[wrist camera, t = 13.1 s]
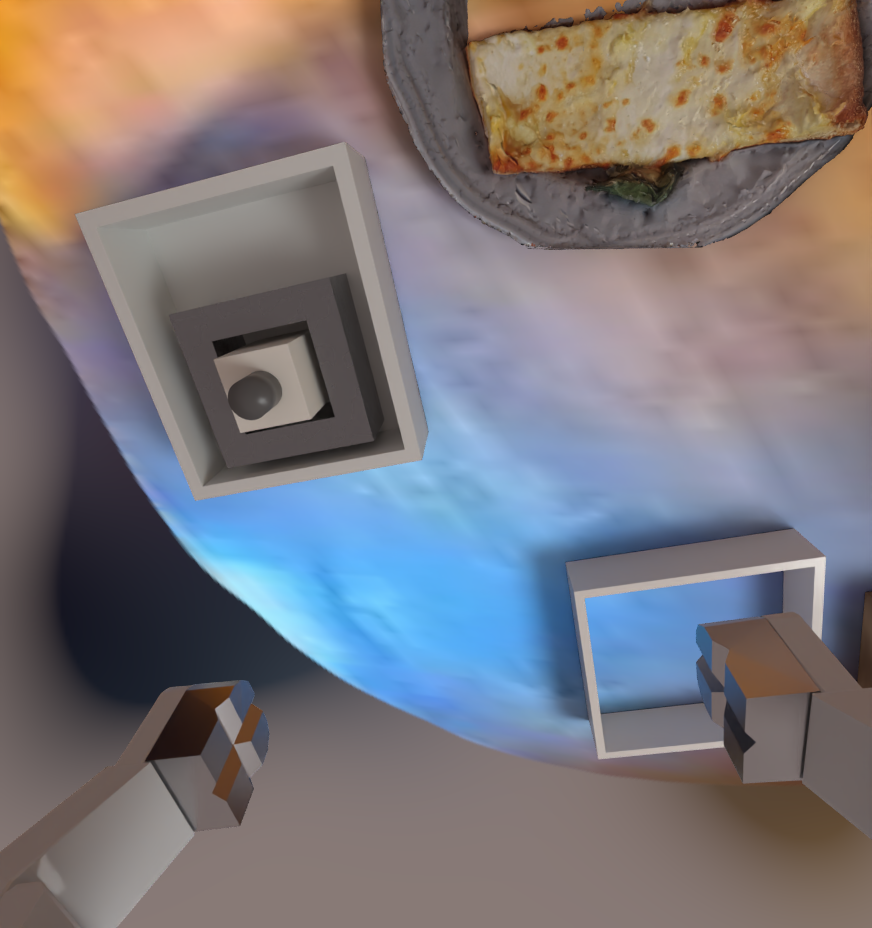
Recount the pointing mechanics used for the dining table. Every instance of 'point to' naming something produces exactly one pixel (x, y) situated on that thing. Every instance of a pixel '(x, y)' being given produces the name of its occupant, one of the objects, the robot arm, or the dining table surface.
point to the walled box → (252, 272)
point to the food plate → (631, 113)
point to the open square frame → (681, 567)
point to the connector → (273, 381)
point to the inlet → (337, 351)
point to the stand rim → (866, 645)
